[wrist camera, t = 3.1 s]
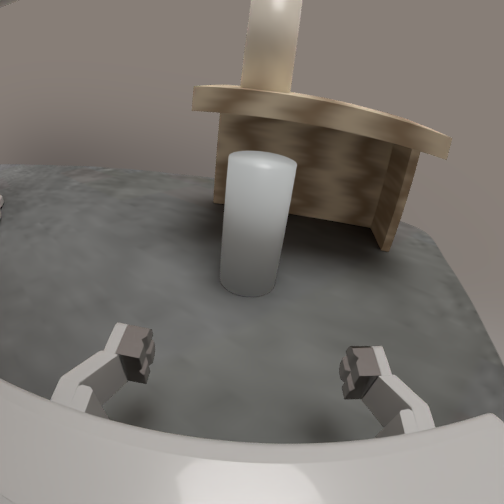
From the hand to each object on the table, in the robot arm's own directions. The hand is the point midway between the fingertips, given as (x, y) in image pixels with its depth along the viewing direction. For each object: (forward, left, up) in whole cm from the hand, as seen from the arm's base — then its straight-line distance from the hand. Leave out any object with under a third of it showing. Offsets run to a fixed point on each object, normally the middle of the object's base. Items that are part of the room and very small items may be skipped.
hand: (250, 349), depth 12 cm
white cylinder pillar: (-1, +12, -6) cm, 13 cm away
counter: (+3, +21, -6) cm, 22 cm away
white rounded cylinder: (-2, +21, +9) cm, 23 cm away
